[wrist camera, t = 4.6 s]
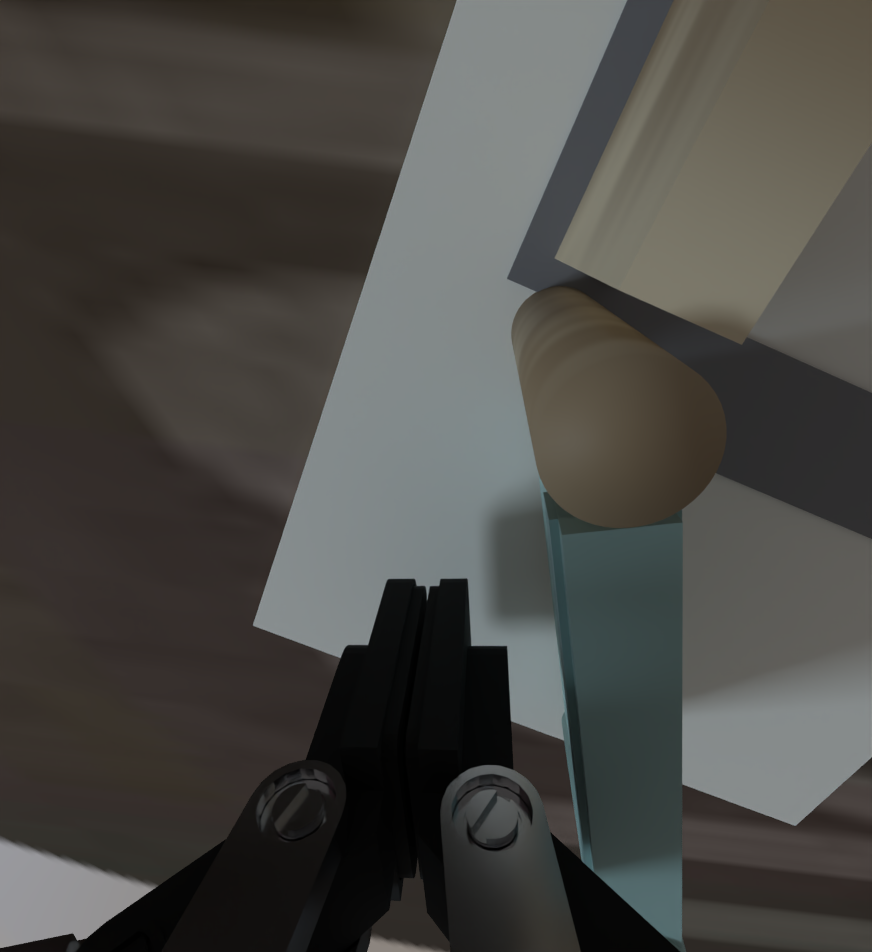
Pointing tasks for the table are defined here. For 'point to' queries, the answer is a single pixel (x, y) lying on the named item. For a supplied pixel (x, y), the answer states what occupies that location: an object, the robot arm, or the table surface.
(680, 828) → the fence gate
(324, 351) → the table surface
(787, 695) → the card
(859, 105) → the fence fixed
